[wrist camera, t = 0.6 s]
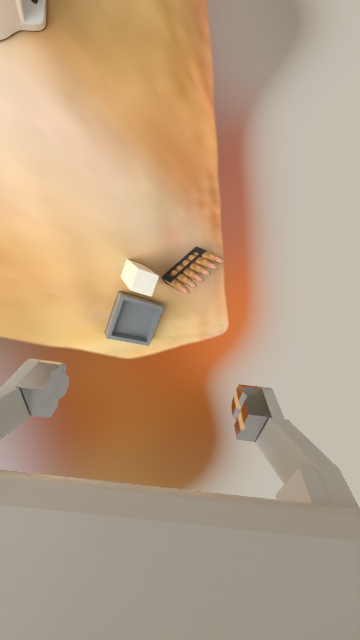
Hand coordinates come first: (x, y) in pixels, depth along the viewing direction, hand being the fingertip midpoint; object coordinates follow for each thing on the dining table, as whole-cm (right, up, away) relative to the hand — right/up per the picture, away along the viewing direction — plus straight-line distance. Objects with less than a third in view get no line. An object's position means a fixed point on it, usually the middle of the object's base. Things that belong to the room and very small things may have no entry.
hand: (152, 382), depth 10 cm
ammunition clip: (+1, +16, +40) cm, 43 cm away
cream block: (-9, +13, +36) cm, 39 cm away
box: (-10, +4, +40) cm, 41 cm away
